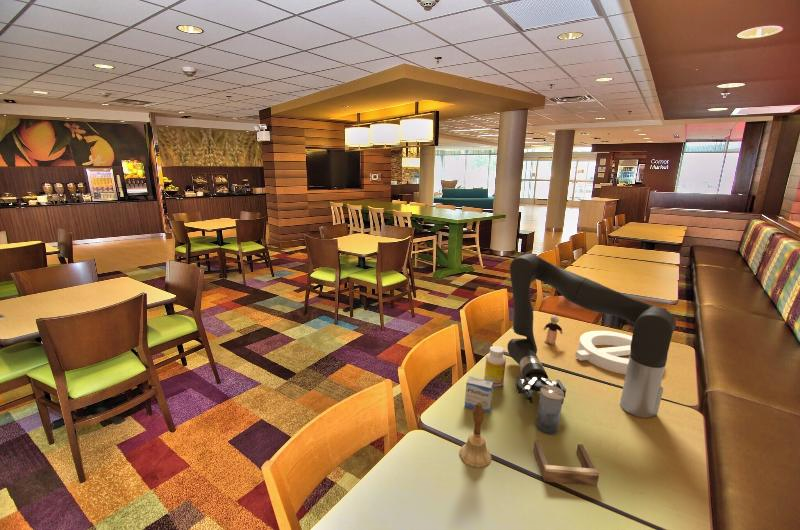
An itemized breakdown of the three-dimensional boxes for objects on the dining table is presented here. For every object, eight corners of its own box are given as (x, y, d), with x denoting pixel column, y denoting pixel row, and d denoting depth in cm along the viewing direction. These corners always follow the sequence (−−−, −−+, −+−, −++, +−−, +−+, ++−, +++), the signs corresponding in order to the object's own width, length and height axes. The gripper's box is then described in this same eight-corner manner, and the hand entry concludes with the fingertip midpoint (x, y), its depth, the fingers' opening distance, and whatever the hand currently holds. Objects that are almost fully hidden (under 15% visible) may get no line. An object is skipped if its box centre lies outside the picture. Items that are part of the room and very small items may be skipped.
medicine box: (464, 406, 118) (465, 382, 116) (467, 398, 122) (468, 375, 120) (489, 413, 115) (491, 388, 113) (491, 404, 119) (494, 381, 117)
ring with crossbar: (657, 352, 154) (659, 341, 153) (658, 385, 132) (661, 373, 130) (583, 334, 169) (584, 325, 168) (573, 361, 146) (574, 350, 145)
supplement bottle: (504, 388, 128) (507, 354, 124) (484, 386, 129) (487, 352, 125) (502, 377, 134) (506, 345, 130) (483, 375, 135) (486, 343, 132)
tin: (554, 421, 112) (559, 385, 109) (561, 435, 106) (567, 398, 103) (533, 419, 113) (538, 384, 109) (538, 434, 107) (544, 397, 103)
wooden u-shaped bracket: (580, 453, 100) (583, 441, 99) (596, 485, 90) (599, 472, 89) (533, 450, 101) (534, 438, 100) (544, 481, 91) (545, 468, 90)
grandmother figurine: (541, 343, 160) (545, 316, 156) (541, 339, 163) (545, 312, 159) (561, 347, 157) (565, 319, 153) (561, 343, 160) (565, 315, 157)
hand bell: (485, 473, 93) (490, 418, 89) (454, 459, 97) (458, 406, 93) (495, 451, 100) (501, 400, 96) (466, 439, 104) (470, 389, 100)
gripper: (512, 360, 126) (523, 388, 110) (556, 363, 124) (573, 392, 109) (510, 380, 128) (520, 410, 112) (553, 382, 127) (569, 414, 111)
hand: (546, 401), depth 111 cm, fingers open, 8 cm apart
